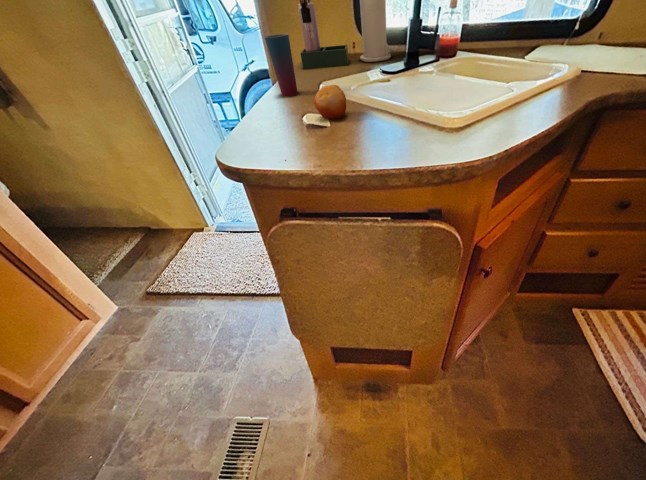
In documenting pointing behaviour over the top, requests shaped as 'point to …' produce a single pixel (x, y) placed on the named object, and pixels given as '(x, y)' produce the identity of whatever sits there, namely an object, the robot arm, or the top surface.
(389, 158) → the top surface
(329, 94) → the fruit
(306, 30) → the beverage can
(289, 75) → the cup
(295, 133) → the top surface
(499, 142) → the top surface
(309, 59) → the rack
